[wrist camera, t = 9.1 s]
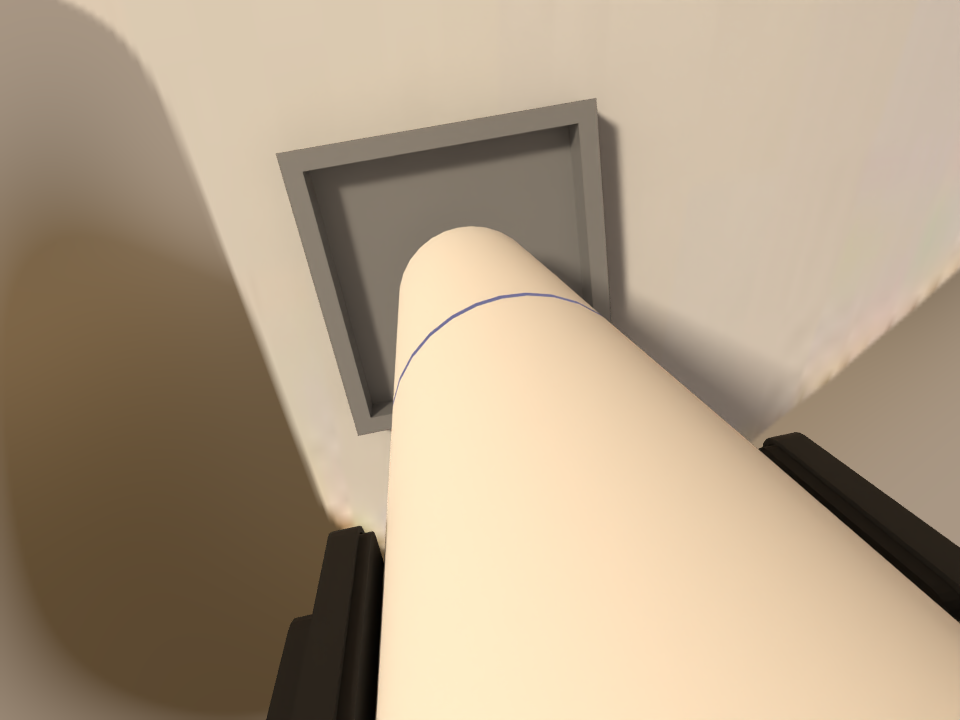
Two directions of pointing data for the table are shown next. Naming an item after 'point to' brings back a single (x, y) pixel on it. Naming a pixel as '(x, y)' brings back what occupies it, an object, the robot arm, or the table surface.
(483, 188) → the desk tray
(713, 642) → the cylindrical container
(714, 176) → the table surface
